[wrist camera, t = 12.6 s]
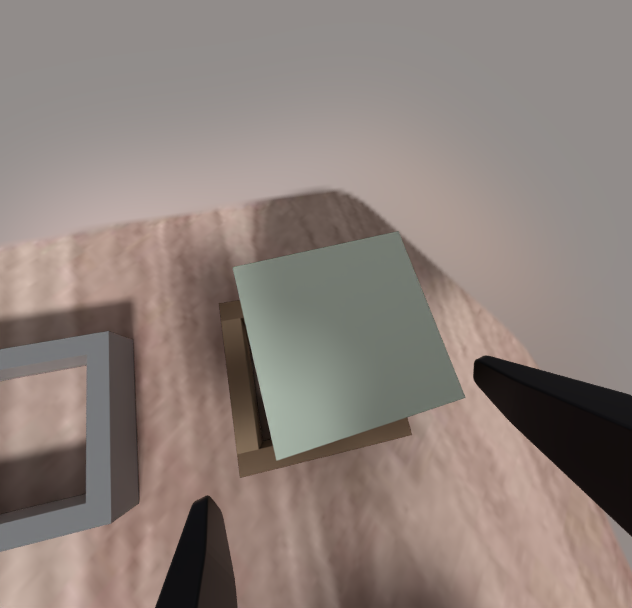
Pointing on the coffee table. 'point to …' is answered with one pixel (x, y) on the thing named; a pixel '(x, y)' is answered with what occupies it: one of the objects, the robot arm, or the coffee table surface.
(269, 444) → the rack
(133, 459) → the socket
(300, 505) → the coffee table surface
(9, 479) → the coffee table surface
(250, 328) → the peg
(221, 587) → the robot arm
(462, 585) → the coffee table surface
